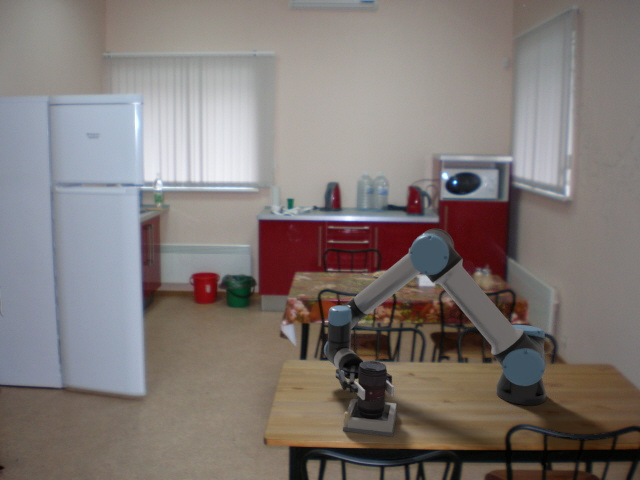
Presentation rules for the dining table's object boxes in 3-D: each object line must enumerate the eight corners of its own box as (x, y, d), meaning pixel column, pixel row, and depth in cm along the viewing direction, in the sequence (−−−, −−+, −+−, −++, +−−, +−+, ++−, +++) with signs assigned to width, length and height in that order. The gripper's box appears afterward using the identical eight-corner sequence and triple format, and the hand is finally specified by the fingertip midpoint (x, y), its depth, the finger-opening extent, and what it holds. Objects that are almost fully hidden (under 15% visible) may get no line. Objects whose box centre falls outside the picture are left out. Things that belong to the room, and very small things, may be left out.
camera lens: (383, 422, 169) (385, 371, 166) (355, 419, 170) (356, 369, 168) (386, 409, 177) (388, 361, 174) (359, 406, 178) (360, 358, 176)
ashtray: (396, 414, 179) (397, 398, 178) (392, 436, 166) (393, 419, 165) (350, 409, 182) (351, 393, 181) (342, 430, 168) (343, 414, 168)
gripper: (379, 372, 193) (411, 401, 171) (317, 379, 186) (342, 410, 165) (380, 349, 191) (412, 376, 170) (318, 356, 185) (343, 384, 164)
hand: (378, 393), depth 168 cm, fingers closed on camera lens, 8 cm apart
